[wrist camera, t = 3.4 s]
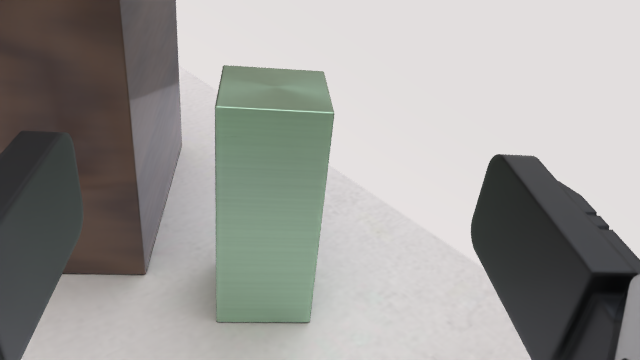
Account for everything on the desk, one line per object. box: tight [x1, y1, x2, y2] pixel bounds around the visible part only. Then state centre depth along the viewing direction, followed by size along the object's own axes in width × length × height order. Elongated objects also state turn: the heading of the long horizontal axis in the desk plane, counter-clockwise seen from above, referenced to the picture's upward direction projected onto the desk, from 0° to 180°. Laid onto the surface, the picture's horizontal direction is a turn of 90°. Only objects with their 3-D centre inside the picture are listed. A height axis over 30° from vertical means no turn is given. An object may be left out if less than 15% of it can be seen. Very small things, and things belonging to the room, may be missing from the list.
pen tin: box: [215, 65, 334, 322], centre depth 25 cm, size 4×4×11 cm
